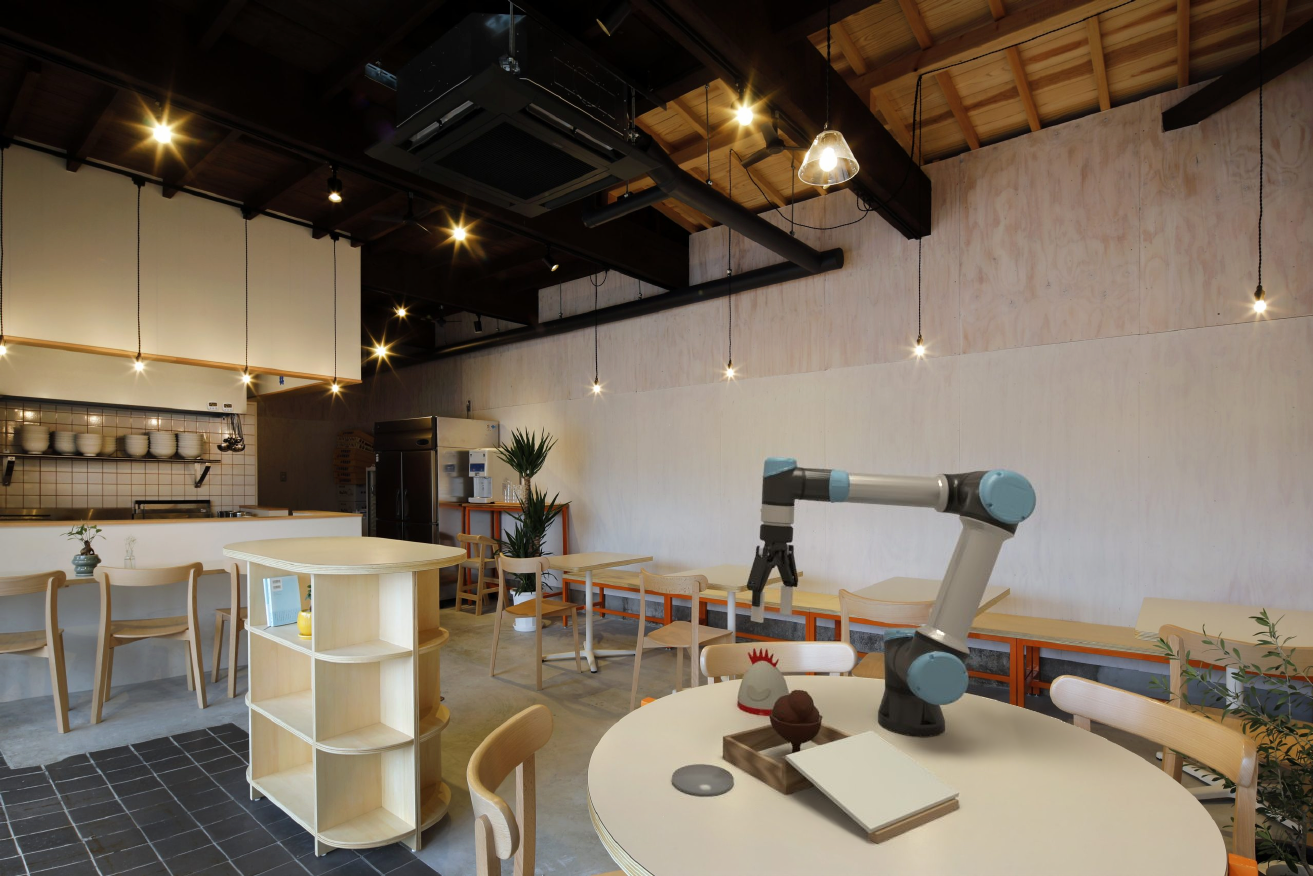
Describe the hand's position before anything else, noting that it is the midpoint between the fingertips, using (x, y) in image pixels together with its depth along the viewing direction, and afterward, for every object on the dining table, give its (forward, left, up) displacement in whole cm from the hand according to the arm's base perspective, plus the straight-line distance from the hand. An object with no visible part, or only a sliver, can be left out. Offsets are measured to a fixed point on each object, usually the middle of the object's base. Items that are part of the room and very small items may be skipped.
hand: (771, 618), depth 146 cm
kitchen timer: (+12, -22, -28) cm, 37 cm away
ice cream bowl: (-8, +6, -28) cm, 30 cm away
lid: (-26, +14, -28) cm, 40 cm away
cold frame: (-8, +6, -28) cm, 30 cm away
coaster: (+4, +25, -28) cm, 38 cm away
